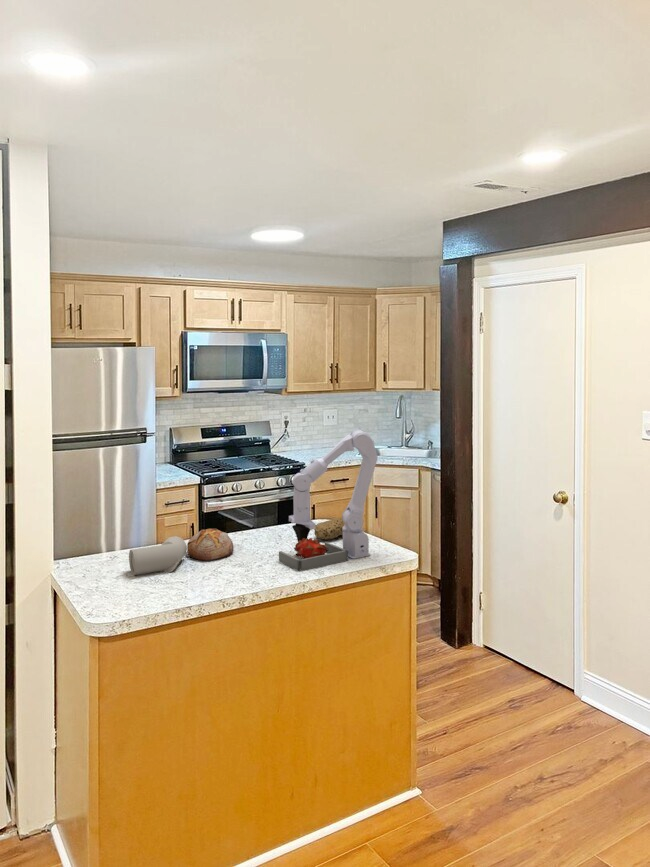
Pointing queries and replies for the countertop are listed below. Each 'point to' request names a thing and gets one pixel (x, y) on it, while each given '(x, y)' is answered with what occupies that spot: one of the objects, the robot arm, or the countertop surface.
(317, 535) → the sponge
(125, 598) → the countertop surface
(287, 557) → the box
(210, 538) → the bread
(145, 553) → the l-shaped cylinder
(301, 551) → the dragon fruit
